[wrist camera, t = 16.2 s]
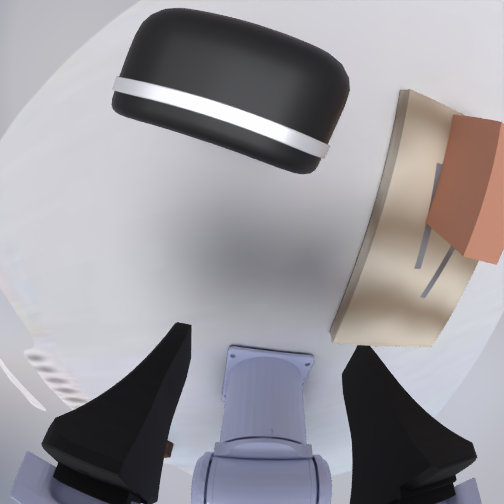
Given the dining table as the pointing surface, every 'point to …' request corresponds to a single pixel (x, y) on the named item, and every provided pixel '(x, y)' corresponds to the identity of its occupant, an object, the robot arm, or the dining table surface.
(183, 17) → the battery charger
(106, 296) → the dining table surface
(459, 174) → the block
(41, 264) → the dining table surface
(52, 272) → the dining table surface
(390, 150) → the board
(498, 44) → the dining table surface
